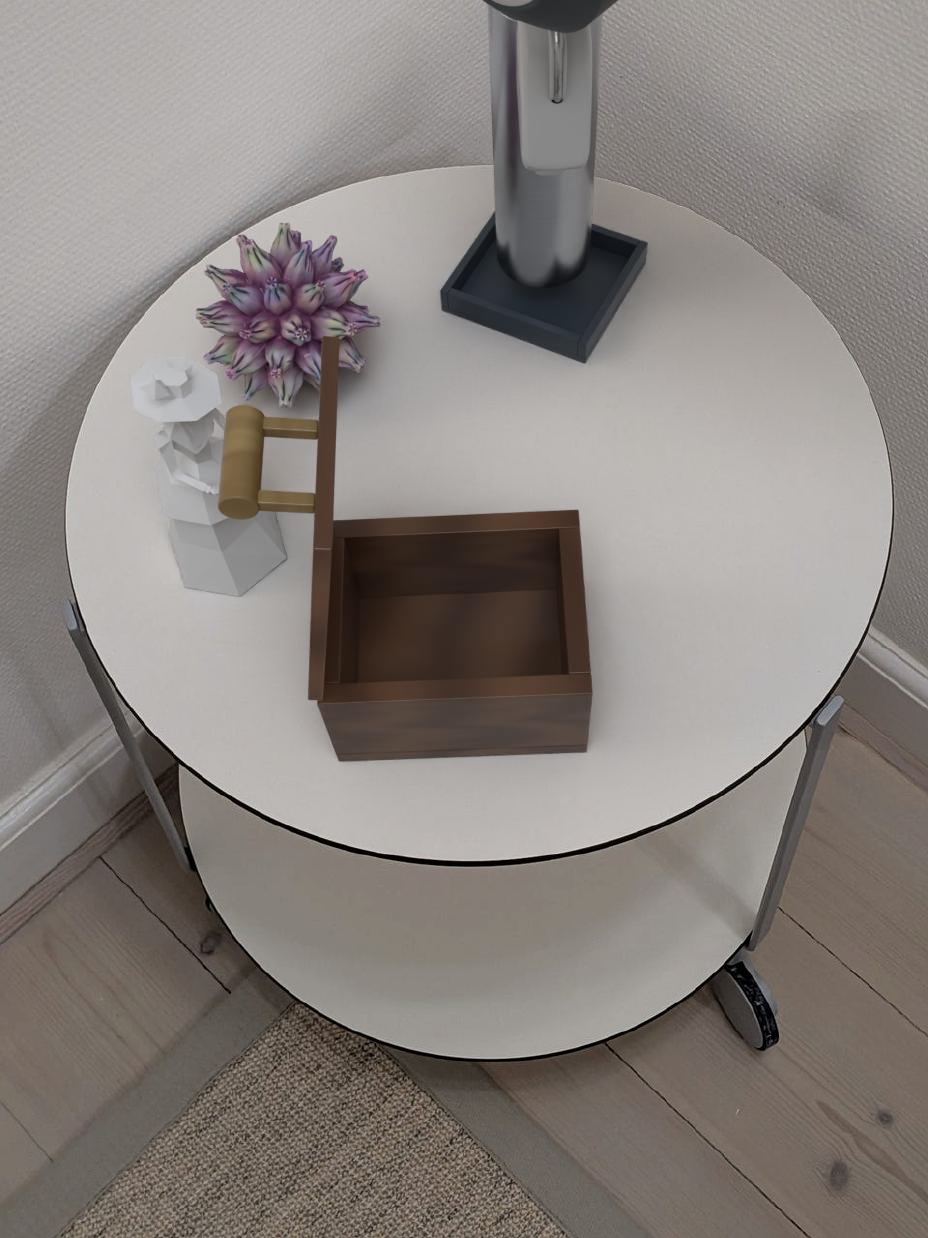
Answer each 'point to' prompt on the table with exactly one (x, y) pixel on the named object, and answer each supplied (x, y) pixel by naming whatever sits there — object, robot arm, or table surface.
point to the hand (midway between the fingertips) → (545, 121)
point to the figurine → (200, 481)
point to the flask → (536, 178)
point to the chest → (457, 637)
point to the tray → (546, 293)
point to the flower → (284, 314)
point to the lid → (247, 498)
